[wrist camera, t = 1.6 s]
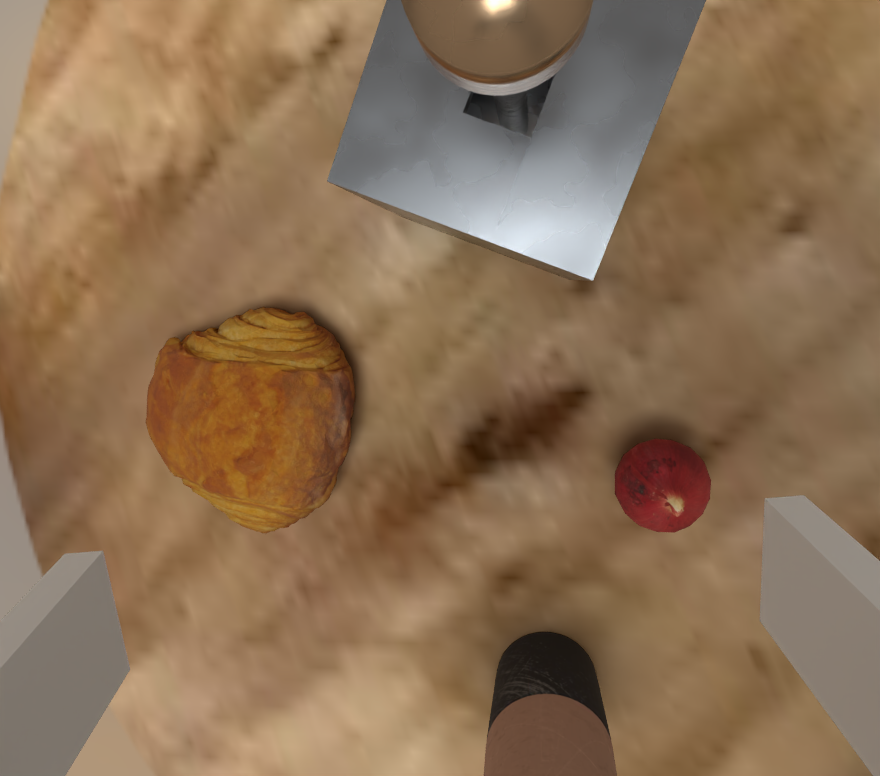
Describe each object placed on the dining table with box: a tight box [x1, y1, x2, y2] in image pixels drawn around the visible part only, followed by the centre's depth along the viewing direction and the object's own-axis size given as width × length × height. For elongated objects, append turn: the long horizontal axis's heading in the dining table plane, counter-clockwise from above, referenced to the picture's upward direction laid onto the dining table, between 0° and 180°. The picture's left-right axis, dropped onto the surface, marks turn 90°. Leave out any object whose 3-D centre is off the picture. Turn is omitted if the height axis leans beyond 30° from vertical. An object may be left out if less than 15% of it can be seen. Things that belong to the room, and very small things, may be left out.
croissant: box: [146, 307, 355, 533], centre depth 51 cm, size 14×16×8 cm
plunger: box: [401, 0, 593, 137], centre depth 29 cm, size 9×9×20 cm
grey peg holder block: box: [327, 0, 706, 281], centre depth 40 cm, size 12×12×19 cm
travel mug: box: [484, 632, 617, 776], centre depth 44 cm, size 8×8×20 cm
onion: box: [615, 439, 711, 532], centre depth 47 cm, size 6×6×8 cm
